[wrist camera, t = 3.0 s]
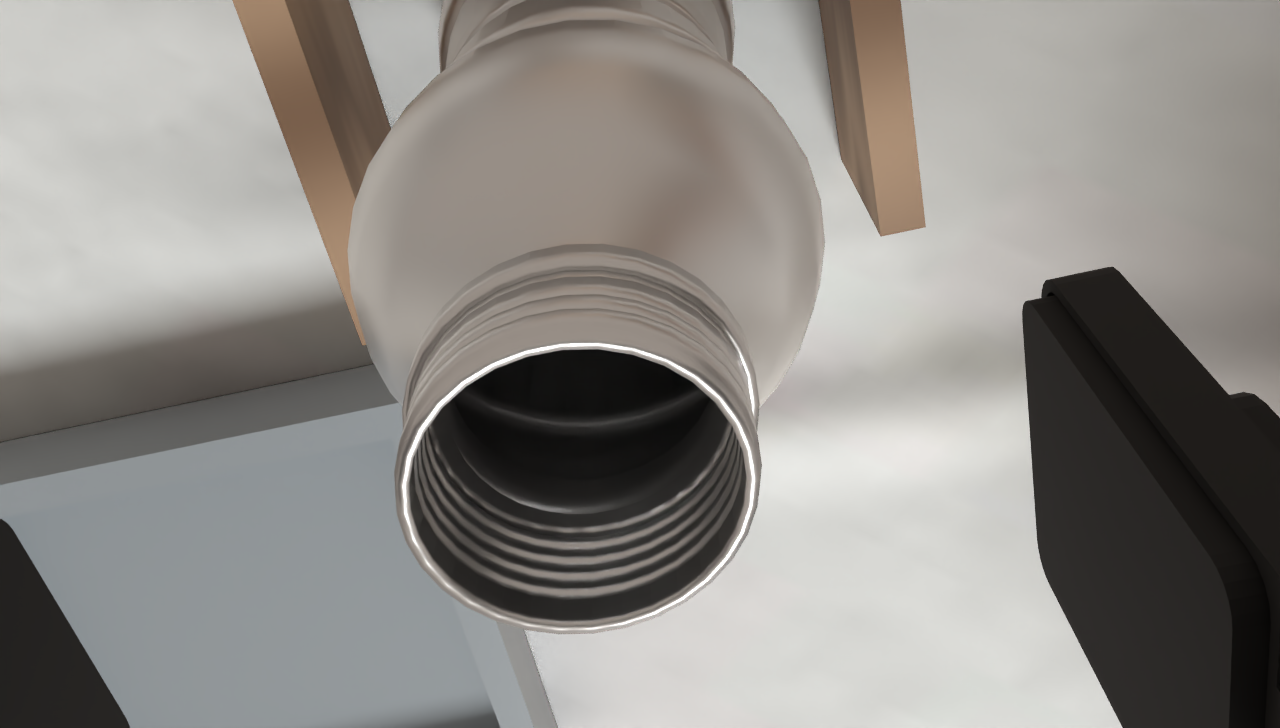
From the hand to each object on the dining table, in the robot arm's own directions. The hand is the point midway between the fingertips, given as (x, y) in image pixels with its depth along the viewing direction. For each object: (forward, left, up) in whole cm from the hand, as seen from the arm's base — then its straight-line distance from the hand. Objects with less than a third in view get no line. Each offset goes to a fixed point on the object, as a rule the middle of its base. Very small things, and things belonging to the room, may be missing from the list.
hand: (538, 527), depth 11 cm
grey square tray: (-16, +14, -21) cm, 30 cm away
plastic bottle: (0, 0, -21) cm, 21 cm away
